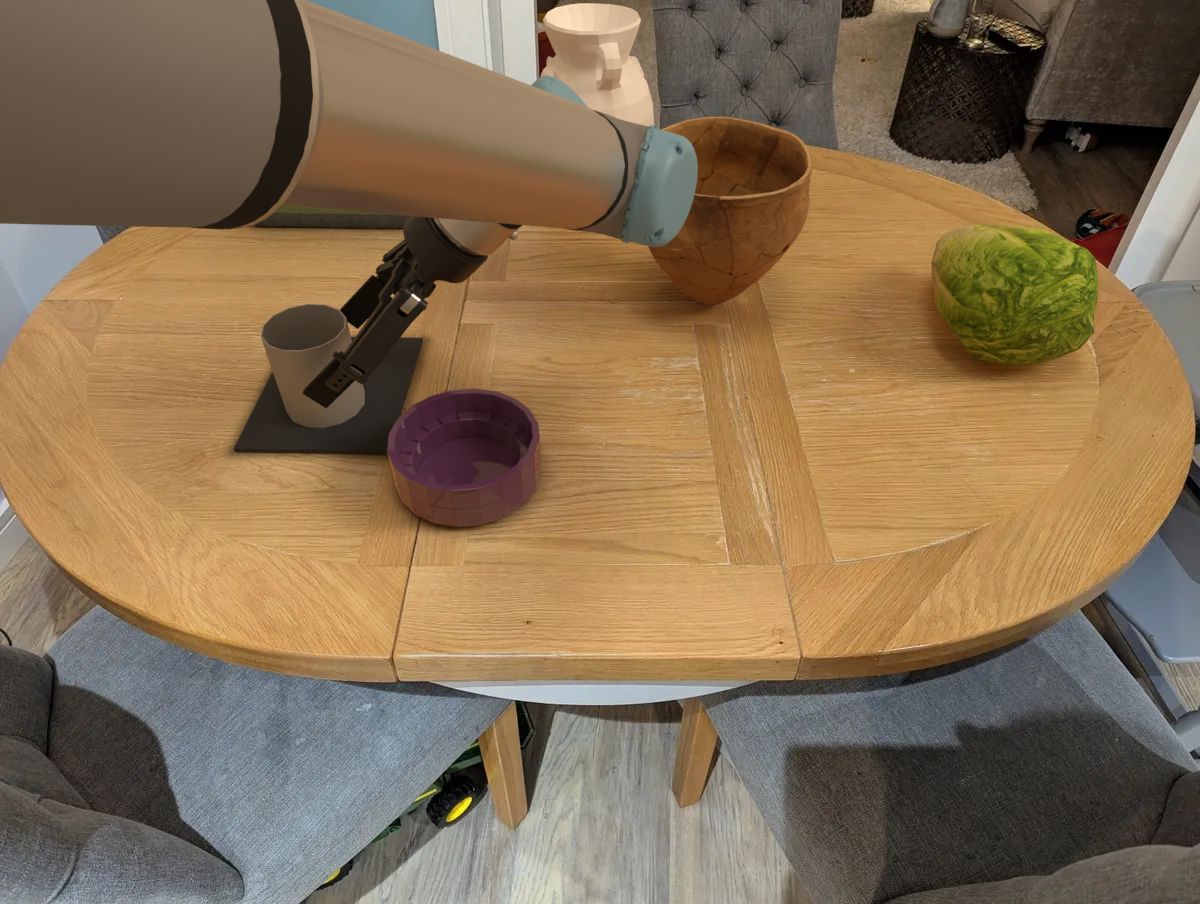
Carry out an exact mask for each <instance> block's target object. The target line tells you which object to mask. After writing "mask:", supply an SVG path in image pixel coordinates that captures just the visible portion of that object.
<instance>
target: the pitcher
mask: <svg viewBox="0 0 1200 904" xmlns="http://www.w3.org/2000/svg"><path fill="white" fill-rule="evenodd" d="M641 22H642V19H641V17H640V14H639V13H638V11H636V10H635V9H633V8H631V7H627V6H624V5H618V4H611V3H593V2H591V3H589V2H588V3H587V2H585V3H584V2H583V3H582V2H580V3H579V2H578V3H571V4H565V5H560V6H557V7H553V8H552V9H550V10H549V11H547V12H546V14H545V16H544V17H543V19H542V23H543V28H544V31H545V33H546V36H547V38H548V41H549V42H550V45H551V48H552V49H553V51H554V53H555V55H554V56H553V57H551V56H550V55H548V56H547V58H546V65H545V67H544V68H543V69H542V71H541V73H540V78H541V77H543V76H552V77H555V78H557V79H559V80H561V81H562V82H564V83H565V84H566V85H568V86H569V87H570V88H571V89H572V90H573V91H574V92H575V93H576V94H577V95H578V96H579V97H580V98H581V99H582V101H583V102H584V103H585V104H586V106H587V107H589V108H590V109H592V110H596V111H599V112H602V113H604V114H607V115H610V116H612V117H615V118H617V119H621V120H624V121H628V122H632V123H636V124H640V125H644V126H648V127H649V126H650V125H653V126H655V115H654V114H655V113H654V103H653V100H652V96H651V92H650V91H651V90H650V88H649V84H648V81H647V80H646V78H645V72H644V70H643V68H642V66H641V63H640V61H639V59H638V58H637V57H636V55H634V56H633V55H630V53H631V50H632V48H633V45H634V43H635V40H636V38H637V36H638V35H637V34H638V32H639V29H640V25H641Z"/></svg>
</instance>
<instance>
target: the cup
mask: <svg viewBox="0 0 1200 904" xmlns="http://www.w3.org/2000/svg"><path fill="white" fill-rule="evenodd" d="M350 331H351V330H350V326H349V323H348V322H347V319H346V317H345V316H344V315H343V313H342V312H341V311H340V309H339V308H337V307H333V306H331V305H327V304H325V303H324V304H322V303H321V304H320V303H319V304H318V303H306V304H301V305H300V304H299V305H296V306H291V307H288V308H286V309H284V310H282V311H279V312H277V313H275V314H272V315H271V317H270V318H269V319H268V320H267V321H266V322H264V324H263V325H262V328H261V331H260V339H261V341H262V345H263V347H264V350H265V352H266V356H267V358H268V362H269V365H270V368H271V371H272V372H273V374H274V377H275V380H276V382H277V385H278V388H279V391H280V394H281V397H282V400H283V403H284V406H285V409H286V412H287V413H288V415H289V416H290V418H291V419H292V421H293V422H295V423H297V424H300V425H302V426H304V427H312V428H325V427H329V426H333V425H337V424H341V423H343V422H345V421H347V420H348V419H350V418H352V417H353V416H355V415H357V413H358V412H359V411H360V409H361V408H362V407H363V405H364V404H365V391H364V387H363V384H362V385H361V384H360V383H358V382H357V381H354V382H353V383H352V384H351V385H350V386H349V387H348V388H347V389H346V390H345V391H344V392H343V393H342V394H341V395H340V396H339V397H338V398H337V399H336V400H335V401H334V402H333V403H332V404H331V405H330V406H329V407H328V408H327V409H326V408H324V407H323V406H321V405H320V404H318V403H316V402H315V401H313V400H312V399H310V398H309V397H307V396H305V395H304V394H302V393H303V391H304V388H305V387H306V386H307V385H308V384H309V383H310V382H311V381H312V380H313V379H314V378H315V377H316V376H317V375H318V374H319V373H320V372H321V371H322V370H323V369H324V368H325V367H326V366H327V365H328V364H329V363H330V362H331V361H332V360H333V359H334V358H333V357H332V356H333V354H334V352H335V351H336V352H338V353H340V352H341V351H342V352H345V351H346V350H347V348H348V347H349V345H350V344H351V343H352V339H351V337H352V336H351V332H350Z"/></svg>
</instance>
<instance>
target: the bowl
mask: <svg viewBox="0 0 1200 904" xmlns="http://www.w3.org/2000/svg"><path fill="white" fill-rule="evenodd" d="M660 130H664V131H667V132H671V133H674V134H677V135H681V136H683V137H685V138H686V139H688V140H689V141H690V143H691V144H692V146H693V148H694V150H695V153H696V157H697V164H698V172H697V184H696V189H695V194H694V198H693V201H692V205H691V208H690V211H689V214H688V216H687V218H686V220H685V222H684V224H683V226H682V228H681V230H680V231H679V233H678V234H677V235H676V236H675V237H674V239H673V240H671V241H670V242H669V243H667V244H666V245H664V246H661V247H650V246H647V248H648V249H649V251H650V253H651V255H652V257H653V259H654V261H655V262H656V263H657V265H658V266H659V267H660V268H661V270H662V271H663V272H664V273H665V275H667V277H668V278H669V280H670V281H671V282H672V283H673V284H674V285H675V286H676V287H677V289H678V290H679V291H680V292H682V293H683V294H684V295H686V296H688V297H689V298H690V299H692V300H693V301H695V302H697V303H701V304H704V305H719V304H723V303H726V302H728V301H730V300H732V299H735V298H736V297H739V296H740V294H742V293H743V292H745V291H746V290H747V289H748V288H749V287H751V286H752V285H753V284H755V283H756V282H757V281H759V280H760V279H761V278H762V277H763V276H765V275H766V274H767V273H768V272H769V271H771V269H772V268H773V267H774V266H775V265H776V264H777V263H778V262H779V261H780V259H781V258H782V257H783V256H784V255H785V254H786V253H787V252H788V251H789V249H790V248H791V246H793V244H794V243H795V241H796V240H797V238H798V237H799V235H800V233H801V232H802V230H803V228H804V226H805V223H806V221H807V218H808V215H809V214H808V213H809V209H810V203H811V202H810V198H811V197H810V187H811V186H810V185H811V176H812V172H813V158H812V154H811V152H810V150H809V148H808V146H807V144H806V143H805V142H804V141H803V140H802V138H800V137H799V136H798V135H796V134H794V133H792V132H790V131H789V130H786V129H782V128H780V127H775V126H772V125H770V124H769V125H768V124H765V123H762V122H759V121H755V120H751V119H744V118H739V117H738V118H736V117H730V116H724V115H723V116H722V115H720V116H702V117H697V118H690V119H686V120H685V119H684V120H683V121H679V122H677V123H673V124H671V125H667V126H666V127H663V128H661V129H660Z"/></svg>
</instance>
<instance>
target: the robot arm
mask: <svg viewBox="0 0 1200 904" xmlns="http://www.w3.org/2000/svg"><path fill="white" fill-rule="evenodd" d="M697 172H698V164H697V157H696V153H695V150H694V148H693V146H692V144H691V143H690V141H689V140H688V139H686V138H685V137H683V136H681V135H677V134H674V133H671V132H667V131H664V130H661V129H660V128H658V126H656V125H654V126H653V125H650V126H649V127H648V126H644V125H640V124H636V123H632V122H628V121H624V120H621V119H617V118H615V117H612V116H610V115H607V114H604V113H602V112H599V111H596V110H592V109H590V108H589V107H587V106H586V104H585V103H584V102H583V101H582V99H581V98H580V97H579V96H578V95H577V94H576V93H575V92H574V91H573V90H572V89H571V88H570V87H569V86H568V85H566V84H565V83H564V82H562V81H561V80H559V79H557V78H555V77H552V76H543V77H541V76H540V77H539V78H537V79H536V80H535V81H534V82H533V83H531V84H528V83H525V82H522V81H520V80H517V79H515V78H513V77H509V76H507V75H505V74H502V73H499V72H496V71H494V70H491V69H489V68H486V67H484V66H480V65H478V64H475V63H472V62H470V61H467V60H465V59H462V58H459V57H457V56H454V55H452V54H449V53H446V52H444V51H441V50H438V49H435V48H434V47H431V46H429V45H428V46H427V45H425V44H422V43H420V42H418V41H415V40H412V39H410V38H407V37H405V36H402V35H400V34H399V35H398V34H397V33H393V32H391V31H388V30H386V29H383V28H380V27H378V26H375V25H372V24H370V23H368V22H364V21H362V20H359V19H357V18H354V17H351V16H348V15H346V14H343V13H341V12H338V11H335V10H332V9H330V8H328V7H325V6H322V5H320V4H317V3H314V2H312V1H309V0H0V225H1V224H2V225H4V224H5V225H40V226H41V225H42V226H43V225H44V226H85V227H86V226H90V227H93V226H95V227H139V228H141V227H145V228H189V229H200V230H201V229H203V230H204V229H205V230H239V229H241V230H242V229H244V228H249V227H252V226H255V224H256V223H258V222H260V221H262V220H264V219H266V218H267V217H269V216H270V215H271V214H273V213H274V212H275V211H276V210H277V209H278V208H279V207H280V206H281V205H283V206H295V207H307V208H319V209H332V210H344V211H356V212H368V213H381V214H393V215H405V216H410V217H409V218H408V219H407V221H406V222H405V224H404V228H402V230H403V232H402V233H403V240H401V241H400V242H399V243H397V244H396V245H395V246H393V247H392V248H391V249H389V251H387V252H386V253H384V254H383V256H382V259H381V261H382V262H383V263H381V264H379V265H378V266H377V267H376V268H375V271H374V274H375V275H376V276H375V275H374V274H371V275H370V276H369V278H368V279H367V280H365V282H364V283H363V284H362V285H361V286H360V287H359V288H358V289H357V290H356V292H355V293H353V295H352V296H351V297H350V298H349V299H348V300H347V301H346V302H345V303H344V304H343V305H342V306H341V308H340V309H339V310H340V311H341V312H342V313H343V315H344V316H345V317H346V319H347V323H348V324H350V325H351V326H352V327H353V328H355V329H357V330H359V331H358V333H357V334H356V335H355V336H354V337H355V338H354V340H353V341H352V343H351V344H350V345H349V347H348V348H347V350H346V351H345V352H342V351H341V352H340V353H338V352H336V351H335V352H334V354H333V356H332V357H333V358H334V359H333V360H332V361H331V362H330V363H329V364H328V365H327V366H326V367H325V368H324V369H323V370H322V371H321V372H320V373H319V374H318V375H317V376H316V377H315V378H314V379H313V380H312V381H311V382H310V383H309V384H308V385H307V386H306V387H305V388H304V391H303V393H302V394H304V395H305V396H307V397H309V398H310V399H312V400H313V401H315V402H316V403H318V404H320V405H321V406H323V407H324V408H326V409H327V408H328V407H329V406H330V405H331V404H332V403H333V402H334V401H335V400H336V399H337V398H338V397H339V396H340V395H341V394H342V393H343V392H344V391H345V390H346V389H347V388H348V387H349V386H350V385H351V384H352V383H353V382H354V381H357V382H358V383H360V384H361V385H362V384H364V383H365V382H366V381H367V380H368V377H369V376H370V375H371V374H372V372H373V371H374V370H375V369H376V367H377V366H378V365H379V364H380V362H381V361H382V360H383V358H384V357H385V356H386V355H387V353H388V352H389V351H390V350H391V348H392V347H393V346H394V345H395V343H396V342H397V341H398V340H399V338H400V337H402V336H403V335H404V333H405V332H406V331H407V329H409V327H410V326H411V324H412V323H413V322H414V321H415V320H416V319H417V318H418V317H419V316H420V315H421V314H422V313H423V312H424V311H426V309H427V308H428V305H429V302H428V301H427V300H426V299H428V298H430V296H431V295H432V294H433V292H434V291H435V289H436V288H437V284H436V283H435V282H437V281H440V282H447V283H449V284H460V283H464V282H465V281H467V280H468V279H469V278H470V277H471V276H472V275H473V274H474V273H476V271H477V270H478V269H479V268H481V266H482V265H483V264H485V262H486V261H487V260H488V257H489V256H490V255H493V254H494V253H495V252H496V251H497V250H498V249H499V248H500V247H501V246H502V245H503V244H504V243H505V242H506V241H507V239H510V240H512V241H515V240H516V239H518V238H519V234H520V232H519V231H518V230H519V229H520V228H521V227H522V226H527V227H528V226H529V227H541V228H552V229H553V228H554V229H562V230H567V231H575V232H585V233H586V232H587V233H594V234H599V235H604V236H607V237H609V238H610V237H611V238H613V239H618V240H620V241H621V242H622V243H625V244H629V243H633V244H637V245H642V246H646V247H648V246H650V247H661V246H664V245H666V244H667V243H669V242H670V241H671V240H673V239H674V237H675V236H676V235H677V234H678V233H679V231H680V230H681V228H682V226H683V224H684V222H685V220H686V218H687V216H688V214H689V211H690V208H691V205H692V201H693V198H694V194H695V189H696V184H697ZM392 295H393V296H394V297H392Z"/></svg>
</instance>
